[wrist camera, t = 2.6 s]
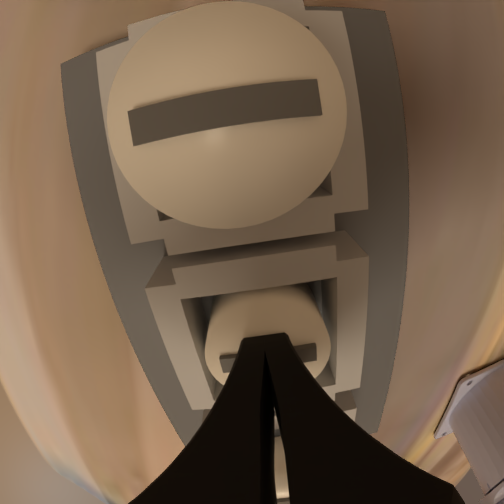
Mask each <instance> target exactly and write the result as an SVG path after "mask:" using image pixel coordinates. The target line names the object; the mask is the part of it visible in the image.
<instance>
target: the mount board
mask: <svg viewBox="0 0 504 504" xmlns="http://www.w3.org/2000/svg"><path fill="white" fill-rule="evenodd" d="M234 1H240V2H248V3H255V4H258V5H262V6H266V7H269V8H272V9H274V10H277V11H279V12H282V13H284V14H286V15H288V16H289V17H291V18H293V19H294V20H296V21H298V22H299V23H301V24H302V25H303V26H304V27H306V28H307V29H308V30H309V31H311V32H312V33H313V34H314V35H315V36H316V37H317V38H318V39H319V41H320V42H321V43H322V44H323V45H324V47H325V48H326V49H327V51H328V52H329V54H330V55H331V57H332V59H333V61H334V62H335V64H336V66H337V68H338V71H339V73H340V76H341V79H342V81H343V85H344V90H345V95H346V103H347V122H346V130H345V135H344V140H343V143H342V146H341V149H340V152H339V155H338V157H337V159H336V161H335V163H334V165H333V167H332V169H331V170H330V172H329V173H328V175H327V176H326V178H325V179H324V180H323V182H322V183H321V184H320V185H319V186H318V188H317V189H316V190H315V191H314V192H313V193H312V194H311V195H310V196H309V197H307V198H306V199H305V200H304V201H303V202H302V203H300V204H299V205H297V206H296V207H294V208H293V209H291V210H290V211H288V212H287V213H285V214H283V215H281V216H279V217H276V218H274V219H272V220H269V221H266V222H264V223H261V224H258V225H253V226H248V227H243V228H233V229H213V228H206V227H200V226H195V225H191V224H188V223H184V222H181V221H179V220H177V219H174V218H172V217H170V216H168V215H166V214H164V213H163V212H161V211H159V210H157V209H156V208H154V207H153V206H152V205H151V204H149V203H148V202H147V201H145V200H144V199H143V198H142V197H141V196H140V195H139V194H138V193H137V192H136V191H135V190H134V189H133V188H132V186H131V185H130V184H129V182H128V181H127V180H126V178H125V177H124V175H123V173H122V172H121V170H120V168H119V166H118V165H117V162H116V160H115V157H114V155H113V152H112V149H111V145H110V141H109V137H108V128H107V106H108V100H109V94H110V90H111V87H112V84H113V81H114V78H115V75H116V73H117V71H118V69H119V67H120V65H121V63H122V61H123V60H124V58H125V57H126V55H127V54H128V52H129V51H130V50H131V48H132V47H133V46H134V45H135V43H136V42H137V41H138V40H139V39H140V38H141V37H142V36H143V35H144V34H145V33H146V32H148V31H149V30H150V29H151V28H152V27H154V26H155V25H157V24H158V23H159V22H161V21H162V20H164V19H166V18H168V17H169V16H171V15H173V14H175V13H177V12H179V11H182V10H179V11H175V12H171V13H167V14H163V15H160V16H156V17H153V18H149V19H146V20H143V21H139V22H136V23H133V24H130V25H128V37H125V38H122V39H119V40H117V41H114V42H111V43H108V44H106V45H103V46H101V47H98V48H96V49H93V50H91V51H88V52H86V53H84V54H81V55H79V56H77V57H75V58H72V59H70V60H68V61H66V62H64V63H62V64H61V77H62V88H63V98H64V106H65V114H66V121H67V128H68V134H69V141H70V146H71V152H72V157H73V162H74V167H75V172H76V177H77V181H78V186H79V190H80V194H81V198H82V202H83V206H84V210H85V214H86V217H87V221H88V225H89V228H90V232H91V235H92V239H93V242H94V245H95V248H96V252H97V255H98V258H99V261H100V264H101V267H102V270H103V273H104V276H105V279H106V281H107V284H108V287H109V290H110V292H111V295H112V298H113V300H114V303H115V306H116V308H117V311H118V313H119V316H120V318H121V321H122V323H123V326H124V328H125V330H126V333H127V335H128V337H129V340H130V342H131V344H132V346H133V349H134V351H135V353H136V355H137V357H138V360H139V362H140V364H141V366H142V368H143V370H144V372H145V374H146V376H147V378H148V380H149V382H150V384H151V386H152V388H153V390H154V392H155V394H156V396H157V398H158V400H159V402H160V403H161V405H162V407H163V409H164V411H165V413H166V414H167V416H168V418H169V420H170V421H171V423H172V425H173V427H174V428H175V430H176V432H177V434H178V435H179V437H180V439H181V440H182V442H183V443H184V445H185V446H186V445H187V444H188V443H189V441H190V440H191V439H192V437H193V436H194V435H195V433H196V432H197V430H198V429H199V427H200V426H201V424H202V423H203V421H204V420H205V418H206V417H207V415H208V413H209V412H210V410H211V408H212V406H213V405H214V403H215V401H216V399H217V397H218V396H219V394H220V392H221V390H222V388H223V386H224V385H222V384H221V383H220V382H219V381H217V380H216V379H215V377H214V376H213V375H212V374H211V372H210V370H209V369H208V366H207V364H206V360H205V345H206V339H207V333H208V326H209V320H210V314H211V308H212V303H213V300H214V297H215V295H219V294H227V293H235V292H242V291H249V290H256V289H263V288H270V287H277V286H284V285H291V284H297V283H304V282H305V283H306V284H307V285H308V286H309V288H310V289H311V291H312V293H313V295H314V298H315V301H316V303H317V306H318V308H319V311H320V313H321V316H322V318H323V321H324V324H325V326H326V329H327V332H328V334H329V338H330V343H331V350H330V356H329V359H328V362H327V364H326V366H325V367H324V369H323V370H322V372H321V373H320V374H319V375H318V376H317V377H316V378H315V380H316V381H317V382H318V383H319V385H320V386H321V387H322V388H323V389H324V391H325V392H326V393H327V394H328V395H329V396H330V397H331V399H332V400H333V401H334V402H335V403H336V404H337V405H338V406H339V407H340V408H341V409H342V410H343V411H344V412H345V413H346V414H347V415H348V416H349V417H350V418H351V419H352V420H353V421H354V422H355V423H357V424H358V425H359V426H360V427H361V428H362V429H364V430H365V431H366V432H367V433H368V434H372V433H375V432H377V431H378V428H379V424H380V420H381V417H382V413H383V409H384V405H385V401H386V397H387V393H388V389H389V384H390V379H391V375H392V370H393V365H394V360H395V354H396V349H397V343H398V337H399V330H400V324H401V317H402V309H403V301H404V292H405V281H406V270H407V255H408V235H409V173H408V153H407V139H406V127H405V118H404V109H403V101H402V93H401V87H400V80H399V74H398V68H397V63H396V57H395V52H394V47H393V43H392V38H391V34H390V30H389V25H388V21H387V18H386V14H385V11H379V10H370V9H359V8H345V7H304V2H303V0H234ZM184 10H185V9H184ZM278 436H281V435H280V430H279V426H278V421H277V417H276V412H275V437H278Z"/></svg>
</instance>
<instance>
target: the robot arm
mask: <svg viewBox="0 0 504 504" xmlns="http://www.w3.org/2000/svg"><path fill="white" fill-rule="evenodd" d="M275 412H276V417H277V421H278V426H279V430H280V435H281V439H282V444H283V448H284V452H285V461H286V470H287V480H288V490H289V500H290V504H465V502H464V501H463V499H462V498H461V496H460V494H459V493H458V491H457V490H456V489H455V487H454V486H453V485H452V484H450V483H448V482H446V481H444V480H441V479H439V478H437V477H435V476H433V475H431V474H429V473H427V472H425V471H424V470H422V469H420V468H418V467H416V466H415V465H413V464H411V463H410V462H408V461H406V460H405V459H403V458H401V457H400V456H398V455H397V454H395V453H394V452H393V451H391V450H390V449H388V448H387V447H386V446H384V445H383V444H381V443H380V442H379V441H377V440H376V439H375V438H373V437H372V436H371V435H369V434H368V433H367V432H366V431H365V430H364V429H362V428H361V427H360V426H359V425H358V424H357V423H355V422H354V421H353V420H352V419H351V418H350V417H349V416H348V415H347V414H346V413H345V412H344V411H343V410H342V409H341V408H340V407H339V406H338V405H337V404H336V403H335V402H334V401H333V400H332V399H331V397H330V396H329V395H328V394H327V393H326V392H325V391H324V389H323V388H322V387H321V386H320V385H319V383H318V382H317V381H316V380H315V378H314V377H313V376H312V374H311V373H310V371H309V370H308V369H307V367H306V366H305V365H304V363H303V362H302V360H301V358H300V357H299V355H298V354H297V352H296V350H295V348H294V347H293V345H292V343H291V341H290V338H289V336H288V334H286V333H285V332H283V333H276V334H269V335H262V336H254V337H246V338H243V339H242V340H241V342H240V346H239V350H238V353H237V356H236V358H235V361H234V363H233V366H232V368H231V371H230V373H229V375H228V377H227V379H226V382H225V384H224V386H223V388H222V390H221V392H220V394H219V396H218V397H217V399H216V401H215V403H214V405H213V406H212V408H211V410H210V412H209V413H208V415H207V417H206V418H205V420H204V421H203V423H202V424H201V426H200V427H199V429H198V430H197V432H196V433H195V435H194V436H193V437H192V439H191V440H190V441H189V443H188V444H187V445H186V446H185V448H184V449H183V450H182V451H181V453H180V454H179V455H178V456H177V457H176V459H175V460H174V461H173V462H172V463H171V464H170V465H169V467H168V468H167V469H166V470H165V471H164V472H163V473H162V474H161V475H160V476H159V477H158V478H157V479H156V480H154V481H153V482H152V483H151V484H150V485H149V486H148V487H147V488H146V489H145V490H144V491H143V492H142V493H141V494H139V495H138V496H137V497H136V498H135V499H133V500H132V501H131V502H129V503H128V504H277V496H276V486H275V470H274V453H275ZM452 432H454V434H455V436H456V438H457V440H458V442H459V444H460V446H461V448H462V450H463V451H464V453H465V455H466V457H467V459H468V461H469V463H470V465H471V468H472V470H473V471H474V474H475V476H476V478H477V480H478V482H479V484H480V487H481V488H482V491H483V493H484V495H485V497H484V498H482V499H481V500H479V503H480V504H504V359H503V360H501V361H499V362H497V363H495V364H493V365H491V366H489V367H487V368H485V369H482V370H480V371H478V372H476V373H474V374H471V375H469V376H467V377H464V378H462V379H461V380H460V381H459V383H458V385H457V387H456V390H455V392H454V394H453V396H452V399H451V401H450V403H449V405H448V408H447V410H446V412H445V414H444V416H443V418H442V420H441V422H440V424H439V426H438V428H437V430H436V432H435V434H434V438H435V439H438V438H441V437H443V436H445V435H448V434H450V433H452Z"/></svg>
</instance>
